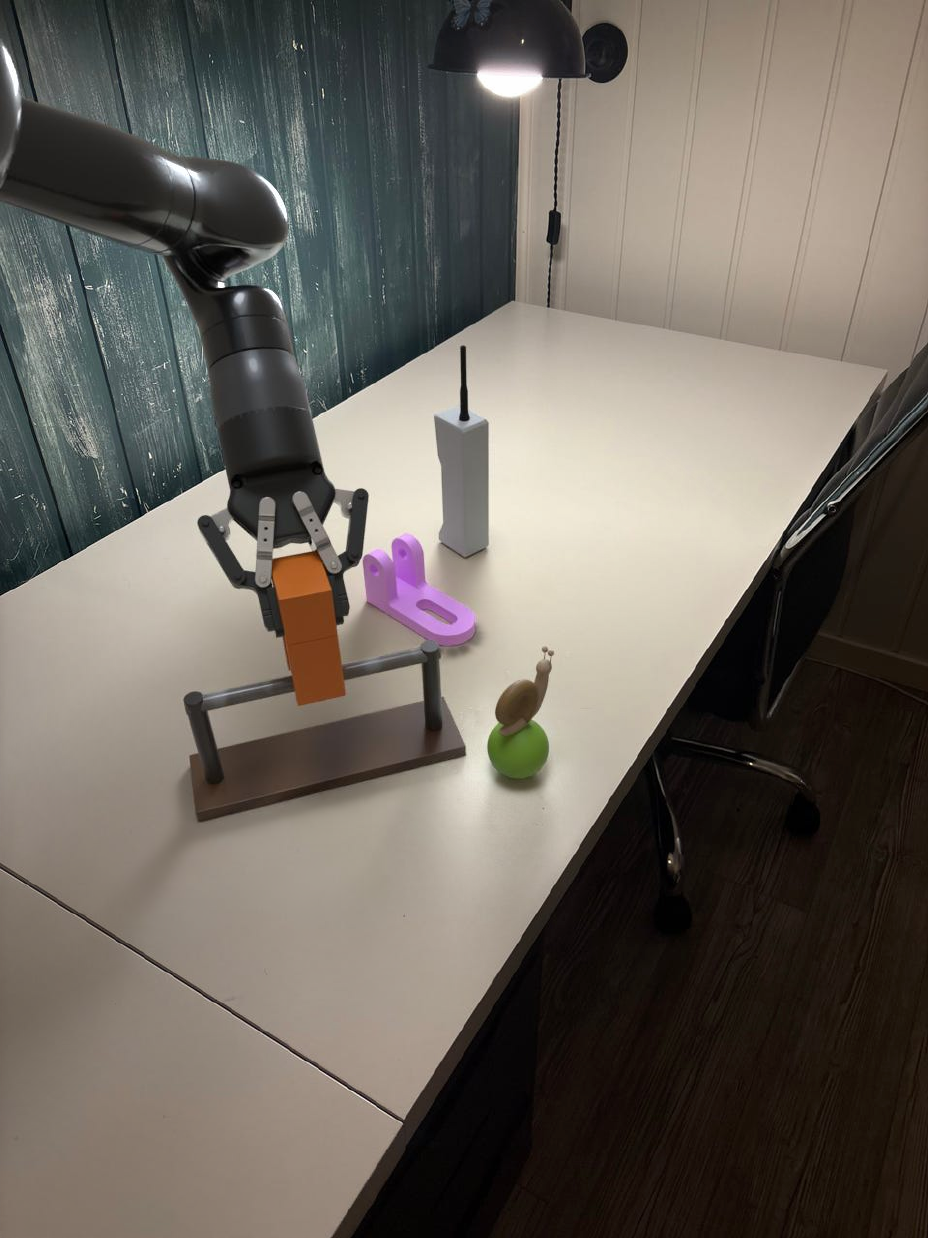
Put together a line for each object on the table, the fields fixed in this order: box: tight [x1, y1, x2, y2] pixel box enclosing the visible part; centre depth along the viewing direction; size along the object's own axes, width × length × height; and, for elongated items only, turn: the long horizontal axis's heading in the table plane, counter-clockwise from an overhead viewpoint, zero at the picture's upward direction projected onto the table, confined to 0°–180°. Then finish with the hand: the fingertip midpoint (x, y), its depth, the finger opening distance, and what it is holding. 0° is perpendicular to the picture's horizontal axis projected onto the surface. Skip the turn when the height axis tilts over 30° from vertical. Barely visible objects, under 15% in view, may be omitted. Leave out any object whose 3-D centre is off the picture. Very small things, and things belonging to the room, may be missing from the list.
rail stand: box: [182, 640, 467, 822], centre depth 80 cm, size 24×7×11 cm, turn 108°
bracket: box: [362, 532, 476, 647], centre depth 98 cm, size 13×6×7 cm, turn 46°
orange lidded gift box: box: [271, 550, 347, 707], centre depth 74 cm, size 4×6×11 cm
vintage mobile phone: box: [433, 344, 490, 558], centre depth 103 cm, size 4×5×25 cm
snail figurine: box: [486, 645, 555, 780], centre depth 79 cm, size 5×6×12 cm
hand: (310, 628), depth 72 cm, fingers closed on orange lidded gift box, 4 cm apart
